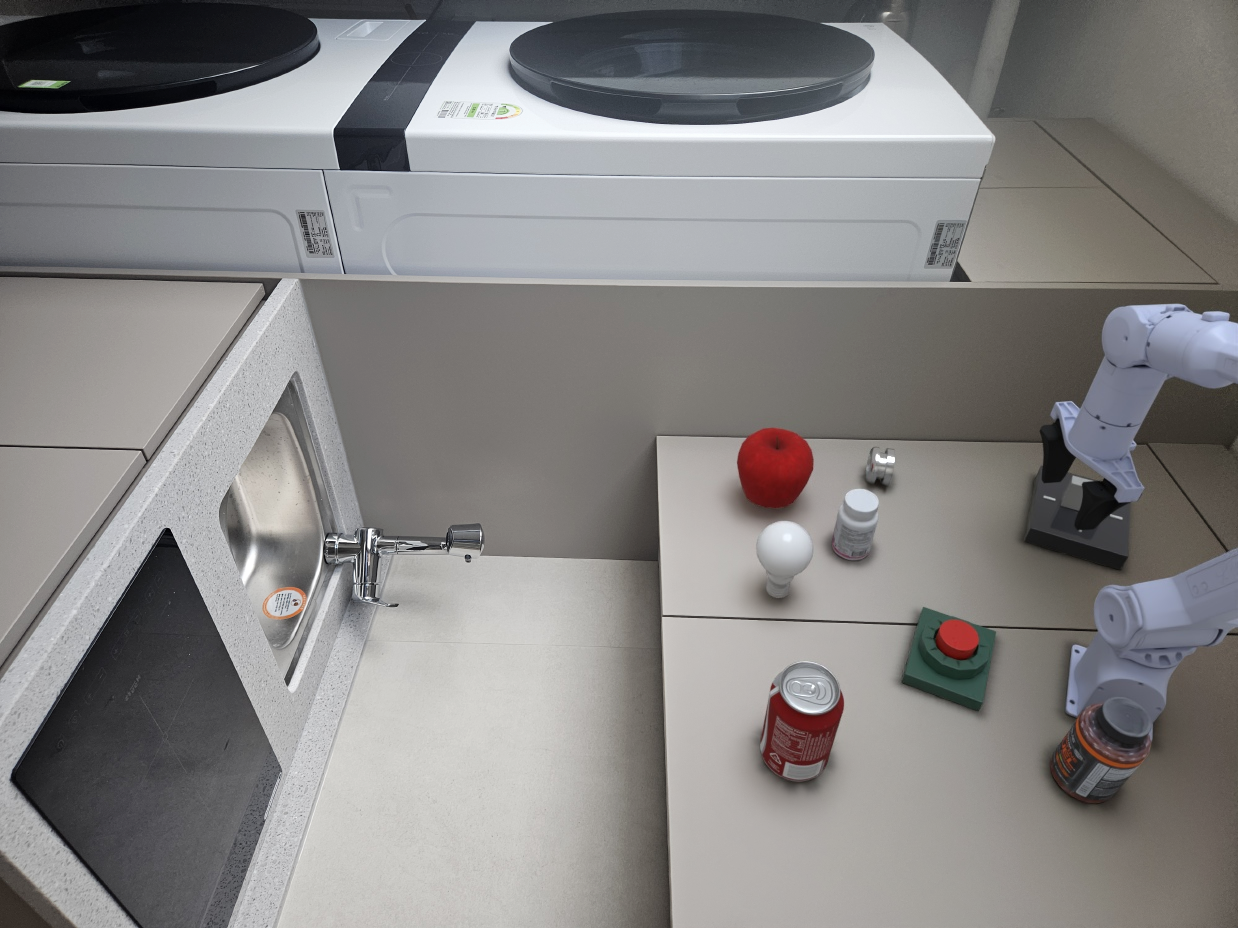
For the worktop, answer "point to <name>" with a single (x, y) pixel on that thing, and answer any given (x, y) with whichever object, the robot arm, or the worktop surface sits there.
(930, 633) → the button block
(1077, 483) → the knob
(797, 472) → the apple
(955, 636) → the button
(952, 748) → the worktop surface
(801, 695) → the soda can
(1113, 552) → the block
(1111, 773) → the supplement bottle
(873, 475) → the grooved metal pulley
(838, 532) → the pill bottle
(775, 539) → the lightbulb
